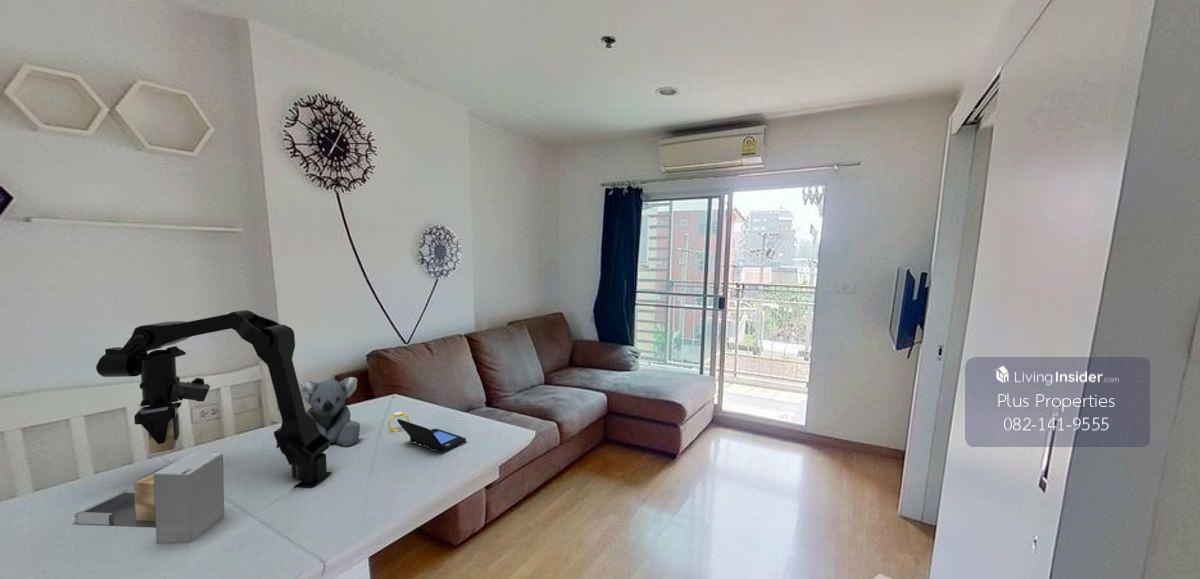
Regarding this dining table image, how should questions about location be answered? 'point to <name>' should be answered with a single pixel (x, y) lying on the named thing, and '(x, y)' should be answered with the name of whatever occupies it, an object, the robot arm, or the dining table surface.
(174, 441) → the block
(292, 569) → the dining table surface
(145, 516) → the block
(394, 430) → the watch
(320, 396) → the koala plush
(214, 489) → the skincare box
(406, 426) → the game console
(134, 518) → the rail
